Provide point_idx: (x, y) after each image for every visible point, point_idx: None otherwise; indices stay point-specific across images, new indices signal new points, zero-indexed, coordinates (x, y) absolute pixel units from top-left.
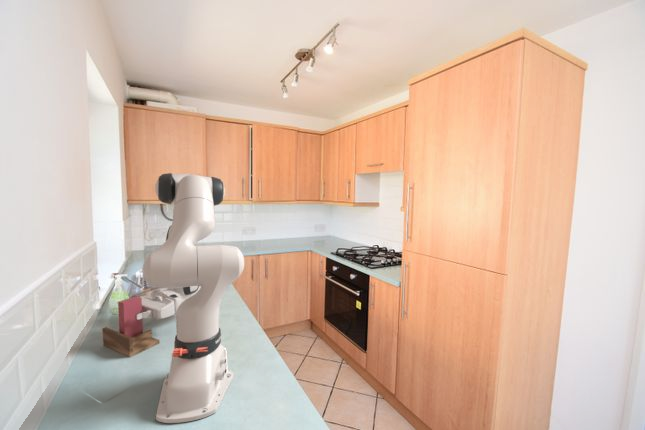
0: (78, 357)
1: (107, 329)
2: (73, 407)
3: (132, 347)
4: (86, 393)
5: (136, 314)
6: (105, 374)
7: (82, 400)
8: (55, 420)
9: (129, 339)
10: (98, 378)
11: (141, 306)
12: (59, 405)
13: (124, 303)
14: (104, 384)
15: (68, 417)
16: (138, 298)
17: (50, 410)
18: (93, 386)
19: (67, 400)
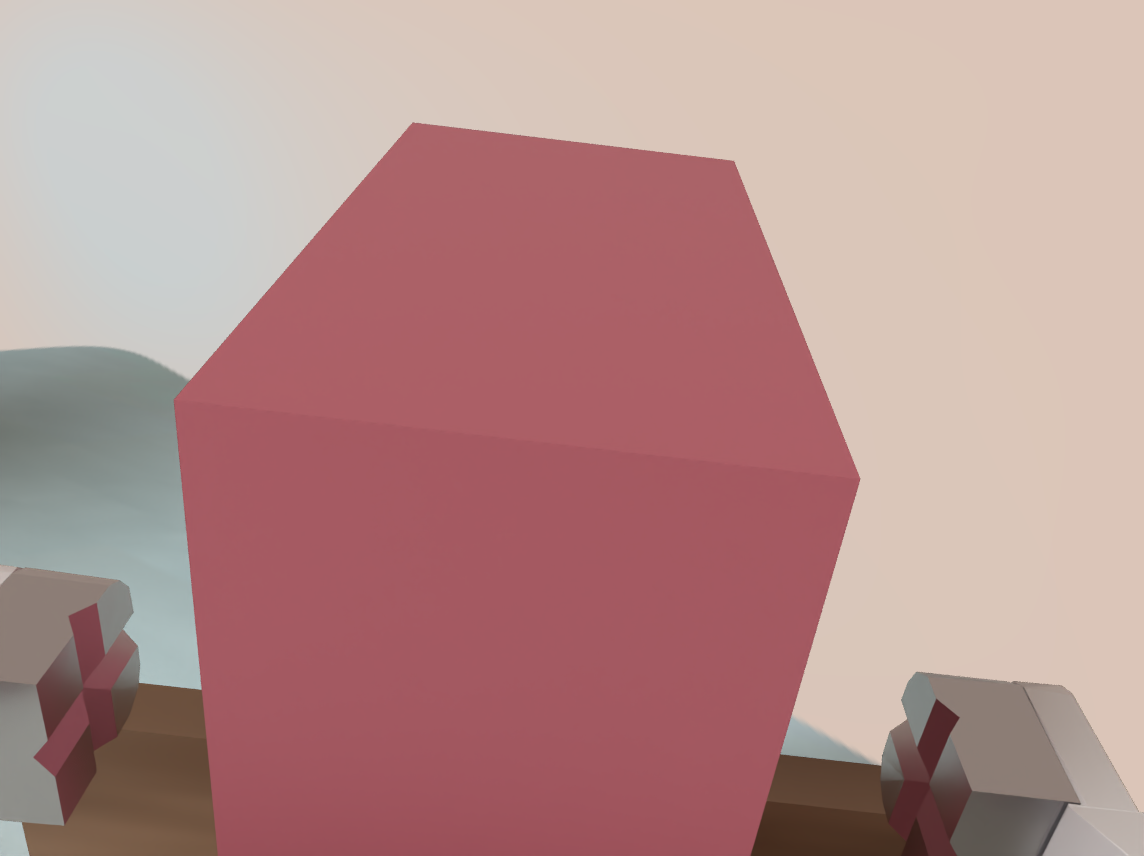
0: (794, 721)
1: (848, 776)
2: (50, 408)
3: (34, 850)
4: (82, 476)
5: (47, 570)
6: (135, 627)
7: (44, 441)
8: (67, 357)
9: None
10: (154, 582)
11: (224, 835)
12: (173, 404)
13: (401, 141)
14: (8, 551)
15: (2, 373)
16: (286, 328)
17: (187, 382)
18: (98, 522)
19: (164, 428)
